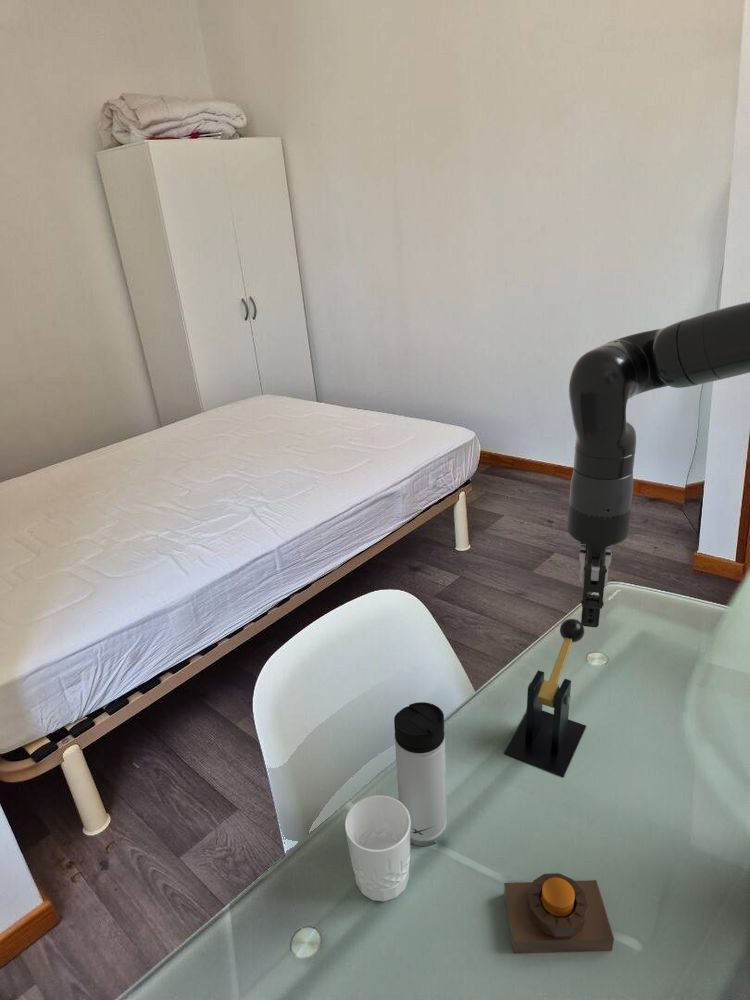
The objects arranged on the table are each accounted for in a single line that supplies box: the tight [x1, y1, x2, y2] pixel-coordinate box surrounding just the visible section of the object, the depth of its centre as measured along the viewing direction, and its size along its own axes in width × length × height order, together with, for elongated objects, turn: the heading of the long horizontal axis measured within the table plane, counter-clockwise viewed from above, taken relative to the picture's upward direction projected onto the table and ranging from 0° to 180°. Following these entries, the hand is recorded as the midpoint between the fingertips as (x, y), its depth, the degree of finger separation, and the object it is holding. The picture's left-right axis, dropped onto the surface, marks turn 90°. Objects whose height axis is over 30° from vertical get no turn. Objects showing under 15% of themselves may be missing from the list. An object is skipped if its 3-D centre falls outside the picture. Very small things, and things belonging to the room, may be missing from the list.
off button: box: [541, 878, 575, 917], centre depth 78 cm, size 4×4×2 cm
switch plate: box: [503, 872, 615, 954], centre depth 79 cm, size 11×7×4 cm, turn 89°
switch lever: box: [538, 618, 585, 709], centre depth 103 cm, size 14×4×4 cm, turn 147°
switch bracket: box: [503, 670, 587, 778], centre depth 102 cm, size 11×9×12 cm
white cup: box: [344, 794, 411, 903], centre depth 84 cm, size 8×8×10 cm
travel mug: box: [393, 701, 448, 847], centre depth 88 cm, size 6×7×20 cm
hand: (590, 606), depth 94 cm, fingers open, 8 cm apart
